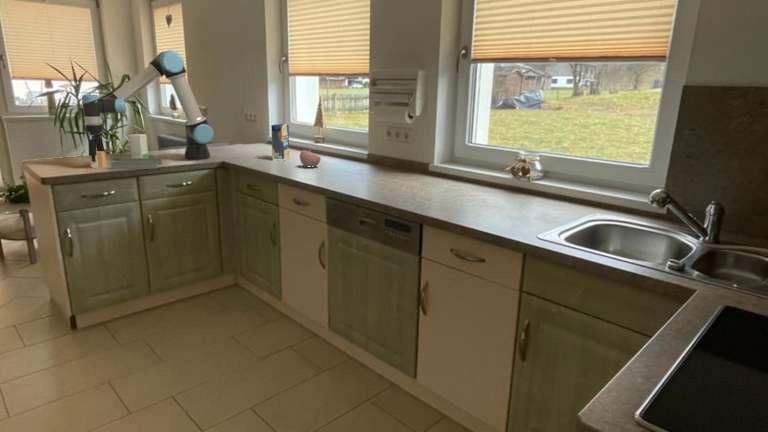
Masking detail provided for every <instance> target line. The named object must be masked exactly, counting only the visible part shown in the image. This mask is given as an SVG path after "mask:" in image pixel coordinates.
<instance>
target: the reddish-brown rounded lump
mask: <svg viewBox="0 0 768 432" xmlns="http://www.w3.org/2000/svg"><path fill="white" fill-rule="evenodd" d="M313 150H314V147H311V148H309V150H306V149H302V150H301V152H300V153H299V160H300V162H301V164H302V165H303V166H304V167H306V166H311V167H312V166H315V167H316V166H319V164H320V162H321V157H320V156H319V155H317V154H315V153H313V152H312V151H313ZM312 168H313V167H312Z"/></svg>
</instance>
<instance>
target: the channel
mask: <svg viewBox="0 0 768 432" xmlns="http://www.w3.org/2000/svg"><path fill="white" fill-rule="evenodd" d="M162 160H163V158H161V157H160V158H158V157H157V158H156V157H153V158H152V157H151V158H132V157H131V158H129V157H128V158H127V157H125V158H122V157H121V158H118V161H117V162H116V161H113V162H110V165H111V169H113V170H116V169H117V170H119V169H120V170H121V169H122V170H126V169H127V170H130V169H132V170H133V169H135V170H136V169H139V170H140V169H141V170H143V169H146V170H147V169H148V170H149V169H150V170H151V169H158V166H157V165H163V161H162Z"/></svg>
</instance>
